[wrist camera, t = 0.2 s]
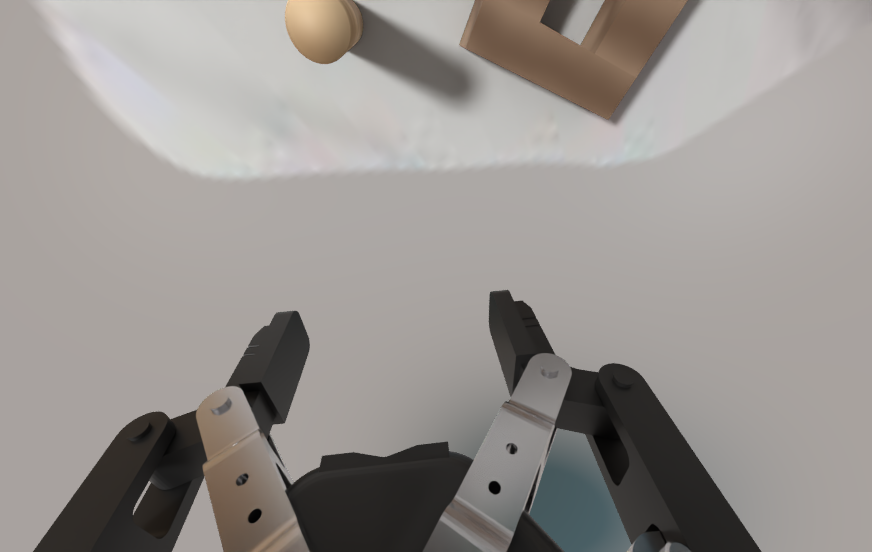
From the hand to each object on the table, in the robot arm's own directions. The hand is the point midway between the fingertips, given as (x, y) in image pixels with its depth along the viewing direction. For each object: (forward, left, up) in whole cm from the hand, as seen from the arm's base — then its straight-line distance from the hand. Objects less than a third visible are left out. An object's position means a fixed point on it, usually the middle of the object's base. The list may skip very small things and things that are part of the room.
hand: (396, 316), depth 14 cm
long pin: (-7, -6, -22) cm, 24 cm away
